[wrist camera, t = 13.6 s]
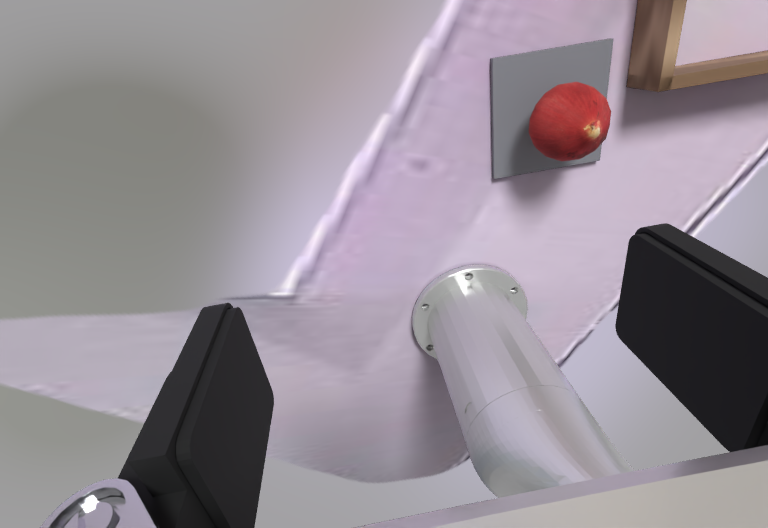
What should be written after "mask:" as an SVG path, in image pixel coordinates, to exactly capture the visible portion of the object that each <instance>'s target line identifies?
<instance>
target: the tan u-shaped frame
mask: <svg viewBox="0 0 768 528" xmlns="http://www.w3.org/2000/svg"><path fill="white" fill-rule="evenodd" d="M686 2H687V0H638V3H637V11H636V18H635V26H634V34H633V41H632V49H631V56H630V64H629V72H628V79H627V87H630V88H637V89H643V90H649V91H656V92H661V91H667V90H672V89H678V88H684V87H690V86H696V85H701V84H707V83H713V82H719V81H724V80H730V79H736V78H742V77H748V76H753V75H759V74H765V73H768V51H762V52H756V53H750V54H744V55H738V56H733V57H727V58H721V59H715V60H709V61H703V62H697V63H692V64H686V65H680V66H675V63H676V57H677V52H678V46H679V41H680V35H681V30H682V24H683V19H684V13H685V8H686Z"/></svg>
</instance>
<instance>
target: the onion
mask: <svg viewBox="0 0 768 528" xmlns="http://www.w3.org/2000/svg"><path fill="white" fill-rule="evenodd" d="M610 116H611V110H610V108H609V105H608V102H607V99H606V97H604V96H603V95H602V94H601V93H600V92H599V91H598V90H597V89H595V88H594V87H592V86H589V85H586V84H583V83H580V82H572V83H565V84H559V85H557V86H555V87H554V88H552V89H551V90H549V91H547V92H546V93H545V94H544V95H543V96H542V98H541V99H540V100H539V101H538V103H537V104H536V105H535V107H534V110H533V112H532V114H531V116H530V121H529V135H530V137H531V140H532V143H533V145H534V146H535V147H536V149H538V150H539V151H540V152H541V153H542V154H543V155H545V156H546V157H549V158H552V159H555V160H558V161H570V160H578V159H581V158H583V157H585V156H586V155H588V154H590V153H592V152H594V151H595V150H596V149H597V148H598V147H599V146H600V145H601V143H602V142H603V141H604V140H605V139H606V136H607V133H608V129H609V126H610Z"/></svg>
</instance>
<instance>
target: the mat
mask: <svg viewBox="0 0 768 528" xmlns="http://www.w3.org/2000/svg"><path fill="white" fill-rule="evenodd" d="M612 46H613V39H604V40H598V41H593V42H587V43H581V44H575V45H569V46H563V47H557V48H551V49H545V50H539V51H533V52H527V53H521V54H515V55H509V56H503V57H497V58H491V59H490V63H491V125H492V178H494V179H498V178H503V177H509V176H515V175H520V174H526V173H532V172H537V171H543V170H549V169H554V168H560V167H566V166H571V165H577V164H582V163H588V162H594V161H599V160H600V154H601V145H602V143H601V145H600V146H599V147H598V148H597V149H596V150H595V151H594V152H592V153H590V154H588V155H586V156H585V157H583V158H581V159H578V160H570V161H558V160H555V159H552V158H549V157H546V156H545V155H543V154H542V153H541V152H540V151H539V150H538V149H536V147H535V146H534V145H533V143H532V140H531V137H530V135H529V121H530V116H531V114H532V112H533V110H534V107H535V105H536V104H537V103H538V101H539V100H540V99H541V98H542V96H543V95H544V94H545V93H546V92H547V91H549V90H551V89H552V88H554V87H555V86H557V85H559V84H565V83H572V82H580V83H583V84H586V85H589V86H592V87H594V88H595V89H597V90H598V91H599V92H600V93H601V94H602V95H603V96H604V97H606V99H607V91H608V82H609V73H610V64H611V55H612Z"/></svg>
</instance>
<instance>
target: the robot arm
mask: <svg viewBox="0 0 768 528" xmlns="http://www.w3.org/2000/svg"><path fill="white" fill-rule="evenodd" d="M527 311H528V306H527V298H526V296H525V293H524V291H523V289H522V288H521V286H520V284H519V283H518V282H517V281H516V280H515V278H514V277H513V276H511V275H510V274H509V273H507V272H506V271H504V270H502V269H499V268H497V267H493V266H489V265H468V266H462V267H459V268H456V269H452V270H450V271H448V272H446V273H444V274H442V275H440V276H439V277H438V278H436V279H435V280H433V281H432V282H431V283H430V284H429V285H428V286H427V287H426V288H425V289H424V290H423V292H422V293H421V295H420V296H419V298H418V299H417V302H416V304H415V306H414V310H413V315H412V327H413V331H414V335H415V337H416V340H417V342H418V344H419V345H420V347H421V348H422V349H423V350H424V351H425V352H426V353H427V354H428V355H430V356H431V357H433V358H435V359H437V360H438V362H439V365H440V368H441V371H442V374H443V377H444V380H445V383H446V386H447V389H448V392H449V395H450V398H451V401H452V404H453V407H454V410H455V413H456V416H457V419H458V422H459V425H460V428H461V431H462V434H463V437H464V440H465V443H466V446H467V449H468V452H469V455H470V458H471V461H472V463H473V465H474V468H475V470H476V472H477V473H478V475H479V477H480V478H481V480H482V481H483V483H484V484H485V485H486V486H487V487H488V488H489V490H490V491H491V492H492V493H493V494H495V495H496V496H497V497H498V498H496V499H491V500H486V501H481V502H476V503H472V504H467V505H462V506H457V507H452V508H447V509H442V510H437V511H432V512H428V513H423V514H418V515H414V516H408V517H403V518H398V519H393V520H389V521H384V522H379V523H374V524H370V525H364V526H360V527H355V528H768V278H767V277H765V276H763V275H762V274H760V273H758V272H756V271H754V270H752V269H751V268H749V267H747V266H745V265H743V264H741V263H740V262H738V261H736V260H734V259H732V258H730V257H728V256H726V255H725V254H723V253H721V252H719V251H717V250H716V249H714V248H712V247H710V246H708V245H707V244H705V243H703V242H701V241H699V240H697V239H696V238H694V237H692V236H690V235H688V234H686V233H685V232H683V231H681V230H679V229H677V228H675V227H674V226H672V225H669V224H659V225H654V226H648V227H643V228H640V229H638V230H637V232H636V233H635V235H633V236H632V237H631V238H630V240H629V245H628V251H627V257H626V263H625V269H624V276H623V282H622V288H621V294H620V300H619V307H618V313H617V319H616V332H617V335H618V336H619V338H620V339H621V340H622V342H623V343H624V344H625V345H627V347H628V348H629V349H630V350H631V351H632V352H633V353H634V354H635V355H636V356H637V357H638V358H639V359H640V360H641V361H642V362H643V363H644V364H645V365H646V367H648V368H649V370H650V371H651V372H652V373H653V374H654V375H655V376H656V377H657V378H658V379H659V380H660V381H661V382H662V383H663V384H664V385H665V386H666V387H667V388H668V389H669V390H670V391H671V392H672V394H673V395H675V397H676V398H677V399H678V400H679V401H680V402H681V403H682V404H683V405H684V406H685V407H686V408H687V409H688V410H689V411H690V412H691V413H692V414H693V415H694V416H695V417H696V418H697V419H698V420H699V422H701V424H702V425H703V426H704V427H705V428H706V429H707V430H708V431H709V432H710V433H711V434H712V435H713V436H714V437H715V438H716V439H717V440H718V441H719V442H720V443H721V444H722V445H723V446H724V447H725V448H726V449H727V450H728V451H730V452H729V453H724V454H720V455H714V456H709V457H703V458H698V459H693V460H688V461H683V462H678V463H672V464H667V465H662V466H657V467H652V468H647V469H642V470H637V471H634V470H633V468H632V467H631V466H630V465H629V464H628V463H627V461H626V460H625V459H624V457H623V456H622V455H621V454H620V452H619V451H618V450H617V449H616V447H615V446H614V445H613V443H612V442H611V441H610V439H609V438H608V437H607V435H606V434H605V433H604V431H603V430H602V428H601V427H600V426H599V424H598V423H597V421H596V420H595V419H594V417H593V416H592V414H591V413H590V411H589V410H588V409H587V407H586V406H585V404H584V403H583V401H582V400H581V398H580V397H579V396H578V394H577V393H576V391H575V390H574V388H573V387H572V385H571V384H570V383H569V381H568V380H567V378H566V377H565V375H564V374H563V373H562V371H561V370H560V368H559V367H558V365H557V364H556V362H555V361H554V360H553V358H552V357H551V355H550V354H549V352H548V351H547V349H546V348H545V347H544V345H543V344H542V342H541V341H540V339H539V338H538V337H537V335H536V334H535V332H534V331H533V329H532V328H531V326H530V325H529V324H528V322H527V321H526V317H527ZM273 406H274V398H273V392H272V388H271V386H270V383H269V381H268V378H267V375H266V373H265V370H264V367H263V365H262V362H261V360H260V357H259V354H258V352H257V349H256V347H255V344H254V341H253V339H252V336H251V333H250V331H249V328H248V326H247V323H246V320H245V318H244V315H243V313H242V310H241V309H240V308H239V307H237V308H233V306H232V305H231V304H230V303H225V304H219V305H214V306H208V307H204V308H203V309H202V310H201V312H200V314H199V316H198V318H197V320H196V322H195V324H194V326H193V328H192V331H191V333H190V335H189V337H188V339H187V341H186V343H185V345H184V347H183V349H182V351H181V353H180V355H179V358H178V360H177V362H176V364H175V366H174V368H173V370H172V372H170V374H169V375H168V377H167V378H166V380H165V382H164V384H163V387H162V389H161V391H160V393H159V395H158V397H157V399H156V401H155V403H154V405H153V407H152V409H151V411H150V413H149V415H148V417H147V419H146V421H145V423H144V425H143V428H142V430H141V432H140V434H139V436H138V438H137V440H136V442H135V444H134V446H133V448H132V450H131V452H130V454H129V456H128V458H127V460H126V463H125V465H124V467H123V469H122V471H121V473H120V475H119V477H118V478H115V479H106V480H102V481H99V482H96V483H94V484H91V485H89V486H87V487H85V488H83V489H82V490H80V491H78V492H77V493H75V494H73V495H72V496H71V497H69V498H68V499H67V500H66V501H64V502H63V503H62V504H61V505H59V506H58V507H57V508H56V509H55V510H54V511H53V513H52V514H51V515H50V516H49V517H48V518H47V519H46V520H45V521H44V523H43V524H42V526H41V527H40V528H254V525H255V519H256V513H257V507H258V501H259V494H260V488H261V482H262V475H263V469H264V463H265V456H266V450H267V444H268V437H269V431H270V425H271V419H272V412H273Z"/></svg>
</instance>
